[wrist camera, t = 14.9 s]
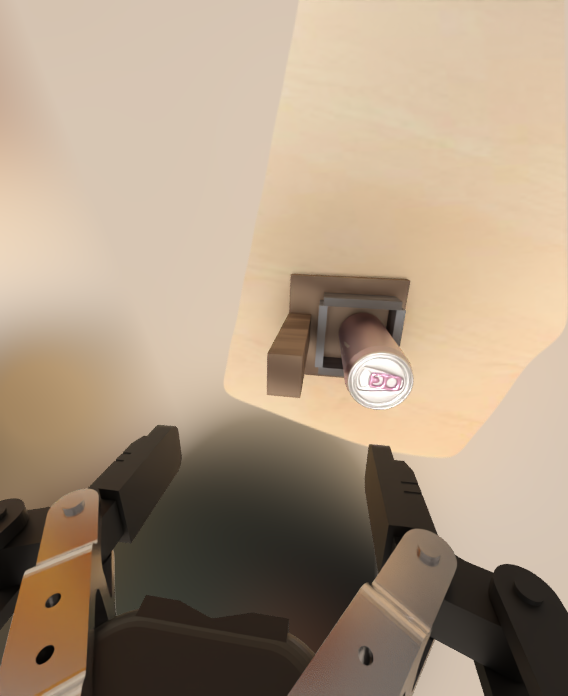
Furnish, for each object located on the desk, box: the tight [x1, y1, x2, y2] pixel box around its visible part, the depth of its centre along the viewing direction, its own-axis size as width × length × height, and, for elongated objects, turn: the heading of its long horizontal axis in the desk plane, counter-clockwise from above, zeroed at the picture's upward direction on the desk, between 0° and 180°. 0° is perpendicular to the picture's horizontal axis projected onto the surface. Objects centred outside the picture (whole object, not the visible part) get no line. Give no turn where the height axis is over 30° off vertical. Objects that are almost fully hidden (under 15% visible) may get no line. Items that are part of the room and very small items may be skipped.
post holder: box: [267, 274, 410, 398], centre depth 33 cm, size 14×15×18 cm
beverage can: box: [339, 313, 413, 410], centre depth 33 cm, size 6×6×15 cm
